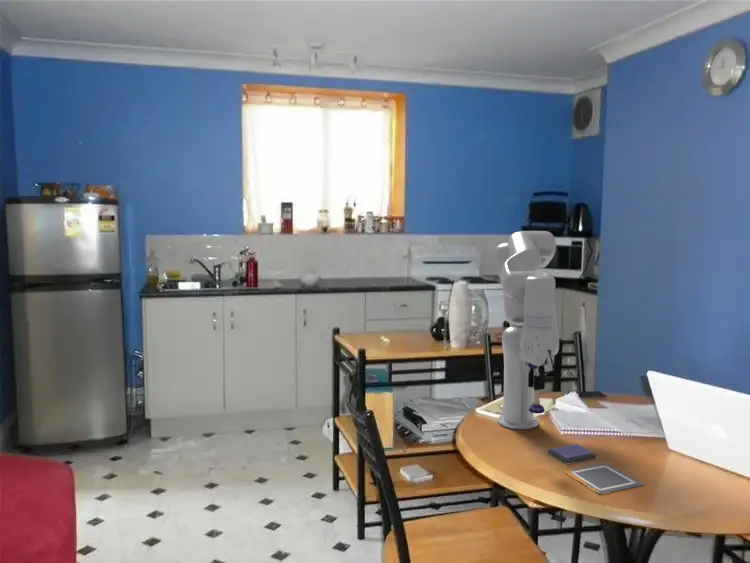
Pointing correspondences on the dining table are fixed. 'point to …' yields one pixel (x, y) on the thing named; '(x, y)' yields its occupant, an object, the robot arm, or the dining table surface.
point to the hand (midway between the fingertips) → (536, 387)
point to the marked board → (605, 478)
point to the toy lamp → (536, 396)
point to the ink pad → (572, 454)
